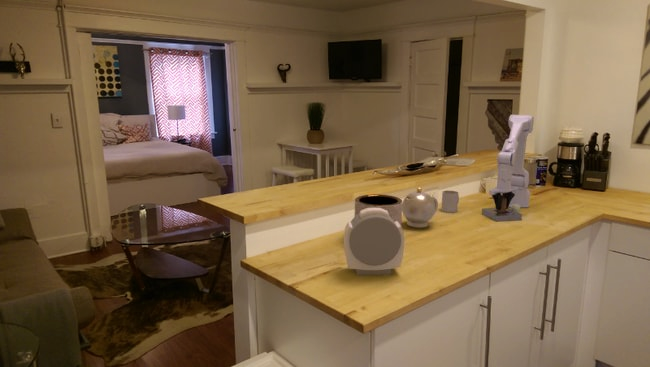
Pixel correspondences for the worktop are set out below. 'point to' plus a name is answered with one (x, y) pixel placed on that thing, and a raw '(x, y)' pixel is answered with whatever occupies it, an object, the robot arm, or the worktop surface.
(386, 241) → the alarm clock
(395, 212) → the planter
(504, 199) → the walnut dowel
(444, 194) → the cup
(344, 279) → the worktop surface
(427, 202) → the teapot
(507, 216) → the collar plate
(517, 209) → the pale cream cylinder
